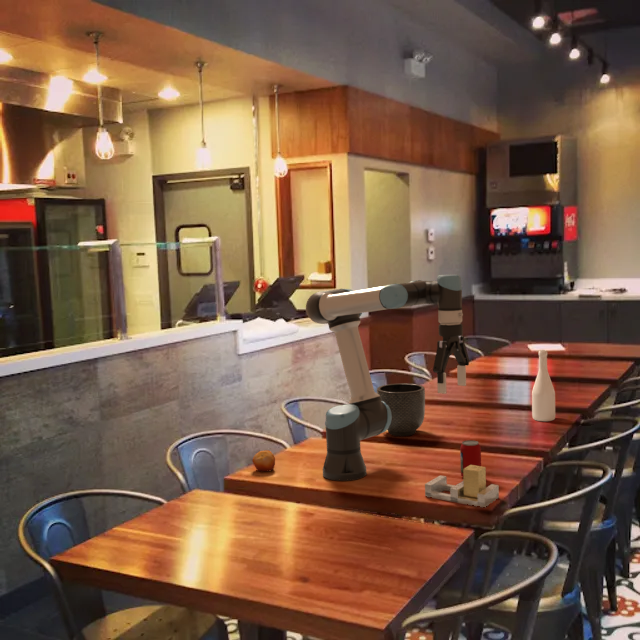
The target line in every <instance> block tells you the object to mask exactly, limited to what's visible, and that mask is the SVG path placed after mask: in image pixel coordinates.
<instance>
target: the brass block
mask: <svg viewBox="0 0 640 640" xmlns="http://www.w3.org/2000/svg"><path fill="white" fill-rule="evenodd" d="M486 473H487V472H486V466H482V465H481V466H476V465H469V466H467V467H466V468H464V469H463V479H462V481H464V497H467V498H472V499H478V495H477V494H478V493H479V492H481V491H482V490H484V489H485V488H487V480H486V479H487V476H486V475H487V474H486Z"/></svg>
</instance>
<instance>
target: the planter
mask: <svg viewBox="0 0 640 640" xmlns="http://www.w3.org/2000/svg"><path fill="white" fill-rule="evenodd" d="M376 393H377V394H379V395H380V398H381V401H383V402H385V403H386V405H388V406H389V408H390V410H391V415H392V419H391V424H390V426H389V428H388V429H387V430H386V431H387V432H388V433H389V435H391V436H394V437H395V436H396V437H408V436H413V435H414V434H415V433H416V432H417V430H418V429H419V428H420V427H421V426H422V425H423V422H424V419H425V413H426V390H425V386H423V385H421V384H418V383H417V384H416V383H404V382H403V383H390V384H389V383H388V384H384V385H380V386H378V387H377V388H376ZM415 435H416V434H415Z"/></svg>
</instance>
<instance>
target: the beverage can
mask: <svg viewBox="0 0 640 640" xmlns="http://www.w3.org/2000/svg"><path fill="white" fill-rule="evenodd" d="M459 449H460V450H459V451H460V455H459V457H460V461H459V462H460V476H461V477H463V469H464V468H466V467H467V466H469V465H476V466H482V447H481V445H480V443H479V441H478V440H477V441H476V440H471V439H469V440H463V441H462V443H461V445H460V447H459Z"/></svg>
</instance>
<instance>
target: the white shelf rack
mask: <svg viewBox="0 0 640 640" xmlns="http://www.w3.org/2000/svg"><path fill="white" fill-rule="evenodd" d="M447 479H448V478H447V476H446V475H438V476H436V477H435V478H433V479H431V480H429V481H428V482H426V483H425V484H424V494H425V495H424V496H427V497H426V498H430V497H432V498H431V499H435V500H436V499H437V500H442V501H447V502H453V503H456V504H462V505H467V504H468V506H472V505H474V506H473V507H477V506H480V507H479V508H483V507H485V508H487V507H488V506H489V504H490V503H491V504H493V503H494V502H495V501H496V499H497V500H498V499H499V498H500V495H499V494H500V493H499V492H500V491H499V490H500V489H499V485H498V484H493V483H491V484H490V485H488V486H486V488H485V489H484V490H482V491H481V492H479V493H478V494H477V495H478V499H472V498H467V497H464V481H463V480H462V481H460V482H459V483H457V484H449V483H447ZM444 491H447V492H450V493H445V492H444ZM493 501H494V502H493ZM491 504H490V505H491ZM486 506H487V507H486Z"/></svg>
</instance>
